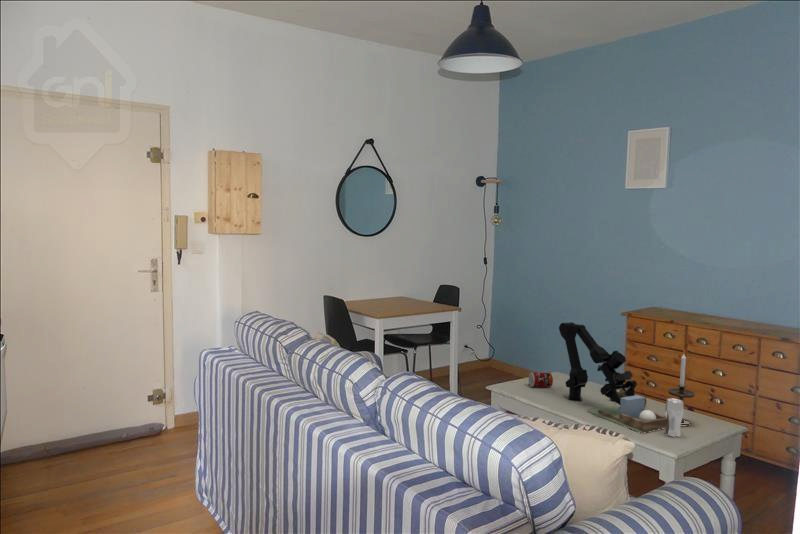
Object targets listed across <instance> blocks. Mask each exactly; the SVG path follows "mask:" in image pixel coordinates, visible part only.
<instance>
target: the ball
mask: <svg viewBox="0 0 800 534" xmlns="http://www.w3.org/2000/svg"><path fill="white" fill-rule="evenodd" d="M654 413H655V412H654ZM654 413H653V411H652V410H649V409H646V410H644V411H642V412H641V413H640V415H639V420H641V421H649V420H655V419H656V416H655V414H654Z"/></svg>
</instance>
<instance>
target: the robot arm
mask: <svg viewBox="0 0 800 534" xmlns="http://www.w3.org/2000/svg"><path fill="white" fill-rule="evenodd" d="M558 329H559V334H560V336H561V337H562V339H564V341H565V346H566V349H567V356H568V358H569V359H568V360H569V363H570V365H569V366H570V370H569V379H567V380H566V381H565V387H567V388H569V389H568V390H569V393H568V394H569V395H568V396H567V397H568V398H567V400H570V401H578V402H582V397H583V396H582V388H585V387H586V385H587V383H588V380H589V379H588V378H589V376H588V372H587V369H585V368H583V367H582V365H581V360H580V355H579V351H578V345H577V341H576V337H577V336H578V337H579V338H580V339H581V342H582V343H583V344H584V345H585V346H586V348H587V349H588V351H589V356H590V357H591V360H592V361H593V363H595V364H598V366H597V369H596V370H597V372H602V374H603V375H604V377H605V380H604V381H605V382H608V383H605V384H604V385H603V386H602V387H601V388H600V393H601V395H602V396H603V395H604V396H605V397H607V398H609V399H612V400H613V401H615V402H614V403H616V404H618V405H619V406H620V400H621V399H619V397H618V395H617V393H616V391H617V390H621V389H623V390H624V391H626V392H625V394H626V395H627V396H628V397H629V396H635V395H636V394H635V389H636V388H637V386H638V383H637V381H636V380H634V379H632V378H633V373H632V372H631V370H627V371H624V372H622V373H620V372H618V371H617V369H619V368H620V367H621V366H623V365H624V364H625V363H626V361H627V359H626V356H625V355H624V354H622V353H621V352H619V351H618V350H614V351H612V353H609V352H608V351H607V350H606V349H605V348H604V347H602V346H601V345H599V344H598V343H597V342H596V340H595V339H594V337H593V336H592V335H591V334H590V332H589V331H588V330H587V327H586V326H585V325H584V324H576V323H574V322H572V321H571V322H568V321H567V322H561V323H560V325H559V326H558ZM599 364H600V365H599ZM613 401H612V402H613Z"/></svg>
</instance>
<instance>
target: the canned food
mask: <svg viewBox="0 0 800 534" xmlns="http://www.w3.org/2000/svg"><path fill="white" fill-rule="evenodd" d="M553 383H554V378H553V375H552V373H550V372H529V375H528V384H529V387H531V388H548V387H549V388H550V387H552V386H553Z"/></svg>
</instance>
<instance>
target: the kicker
mask: <svg viewBox="0 0 800 534" xmlns="http://www.w3.org/2000/svg"><path fill="white" fill-rule="evenodd" d="M645 398H646V397H644V396H642V395H638V394H635V396H629V397H622V398H621V399H620V405H619V407H620V413H623V414H626V415H628V416H631V417H634V418H636V419H639V415H640V413H641V412H642V411H644V409H645V407H644V404H645Z"/></svg>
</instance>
